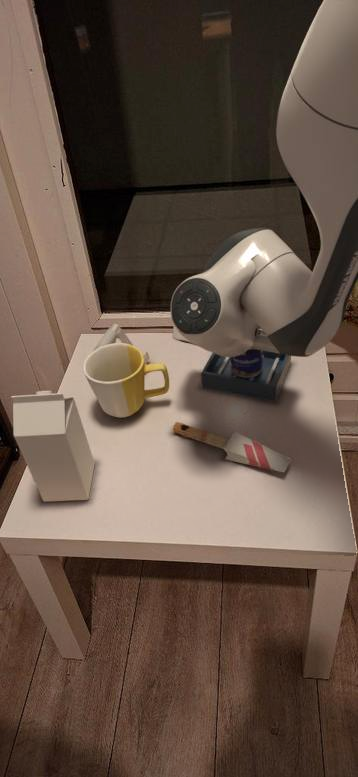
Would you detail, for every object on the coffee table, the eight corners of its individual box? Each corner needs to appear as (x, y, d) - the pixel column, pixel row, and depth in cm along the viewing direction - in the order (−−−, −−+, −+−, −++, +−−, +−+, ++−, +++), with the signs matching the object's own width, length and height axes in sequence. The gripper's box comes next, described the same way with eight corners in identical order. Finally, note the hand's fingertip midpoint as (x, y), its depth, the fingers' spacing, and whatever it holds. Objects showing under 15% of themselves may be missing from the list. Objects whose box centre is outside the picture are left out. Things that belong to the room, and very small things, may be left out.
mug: (88, 426, 94) (74, 381, 87) (104, 386, 101) (92, 341, 94) (165, 430, 91) (157, 384, 84) (175, 389, 99) (169, 343, 92)
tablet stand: (134, 390, 99) (124, 354, 94) (95, 385, 102) (84, 350, 96) (150, 361, 105) (142, 325, 100) (113, 357, 108) (104, 322, 102)
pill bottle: (231, 380, 97) (229, 335, 90) (230, 359, 101) (228, 315, 94) (263, 378, 96) (264, 333, 89) (261, 358, 100) (261, 313, 94)
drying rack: (290, 364, 101) (291, 349, 98) (275, 402, 94) (276, 387, 91) (221, 351, 105) (220, 337, 103) (202, 387, 99) (201, 372, 96)
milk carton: (89, 500, 82) (57, 412, 70) (43, 502, 83) (3, 415, 70) (95, 464, 88) (67, 375, 75) (52, 466, 88) (17, 379, 75)
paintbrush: (282, 468, 79) (168, 428, 89) (282, 480, 81) (171, 439, 90) (292, 450, 81) (180, 413, 91) (292, 462, 83) (183, 424, 93)
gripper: (300, 316, 78) (311, 331, 91) (170, 297, 85) (197, 314, 98) (291, 359, 78) (303, 368, 91) (162, 337, 85) (191, 348, 98)
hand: (247, 340), depth 95 cm, fingers open, 8 cm apart
